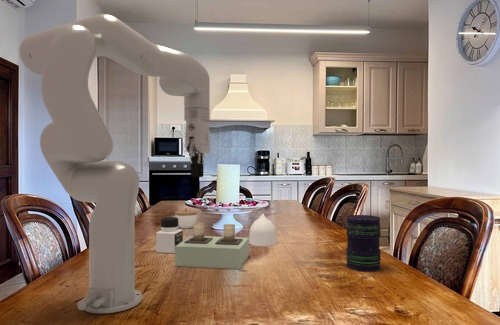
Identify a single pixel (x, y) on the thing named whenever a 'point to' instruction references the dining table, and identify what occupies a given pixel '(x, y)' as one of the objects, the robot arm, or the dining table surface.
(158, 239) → the medicine bottle
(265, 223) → the teardrop
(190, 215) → the lidded jar
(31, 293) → the dining table surface
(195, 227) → the peg left
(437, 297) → the dining table surface
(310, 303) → the dining table surface
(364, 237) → the storage jar
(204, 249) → the sage block
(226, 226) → the peg right
